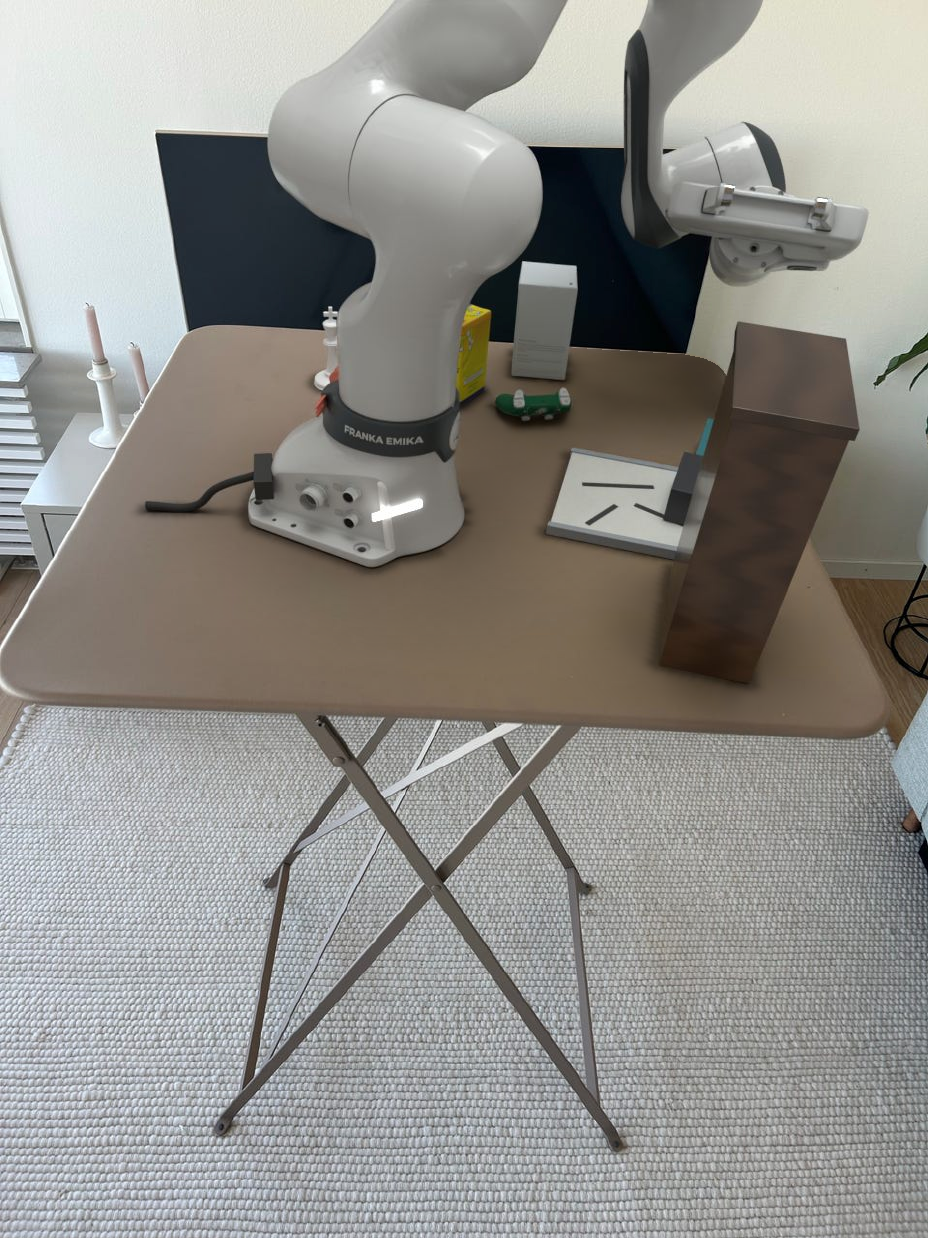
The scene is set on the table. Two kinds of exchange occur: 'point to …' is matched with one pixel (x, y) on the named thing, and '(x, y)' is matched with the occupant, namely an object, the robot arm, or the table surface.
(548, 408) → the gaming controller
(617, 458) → the whiteboard
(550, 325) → the white packaging box
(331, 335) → the chess piece
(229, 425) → the table surface
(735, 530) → the walnut pedestal
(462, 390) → the supplement box
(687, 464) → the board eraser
